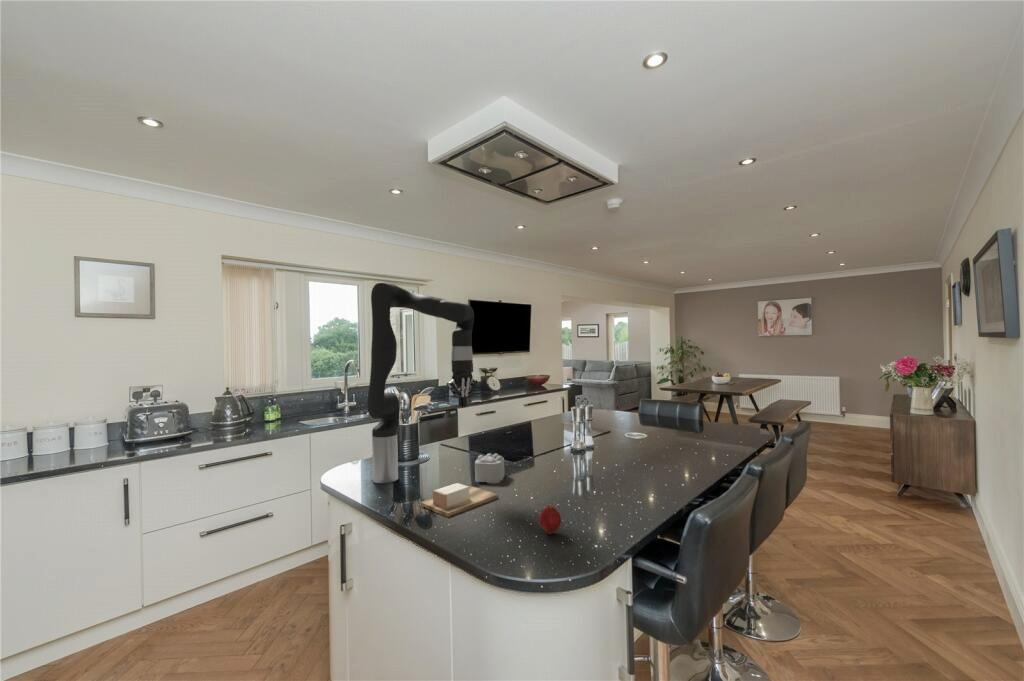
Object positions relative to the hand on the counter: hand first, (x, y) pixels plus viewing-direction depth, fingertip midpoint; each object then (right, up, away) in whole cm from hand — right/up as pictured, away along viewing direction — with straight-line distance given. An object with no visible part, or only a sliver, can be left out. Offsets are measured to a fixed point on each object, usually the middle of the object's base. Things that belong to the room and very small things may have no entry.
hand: (462, 407), depth 155 cm
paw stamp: (+10, -29, +11) cm, 32 cm away
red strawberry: (+28, -28, -40) cm, 56 cm away
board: (+1, -29, -15) cm, 32 cm away
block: (+2, -25, -13) cm, 29 cm away
